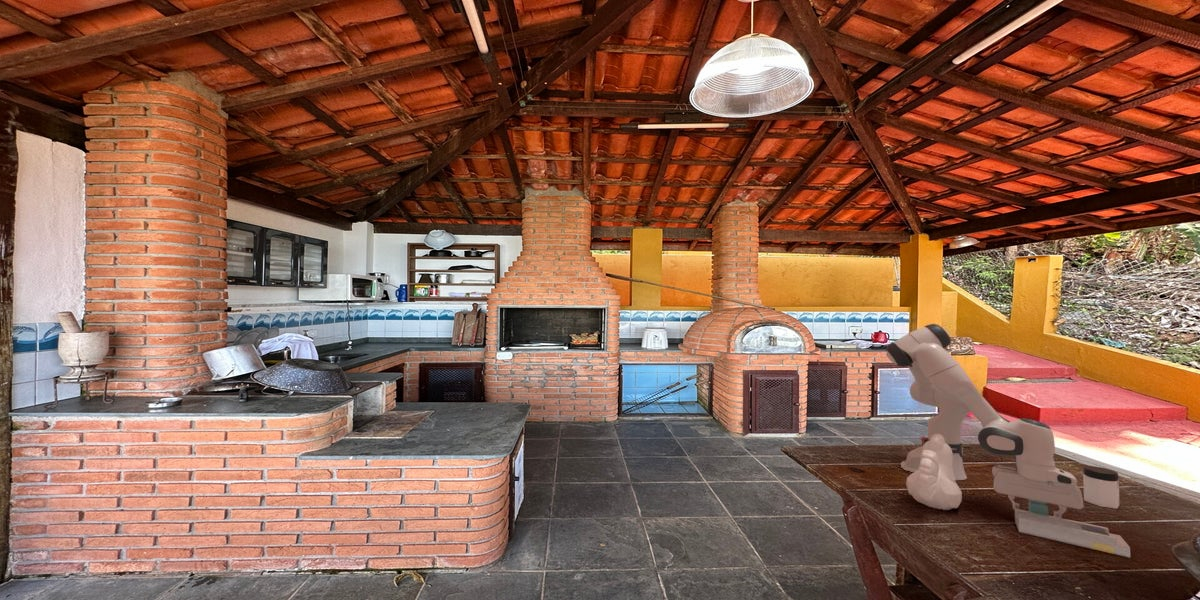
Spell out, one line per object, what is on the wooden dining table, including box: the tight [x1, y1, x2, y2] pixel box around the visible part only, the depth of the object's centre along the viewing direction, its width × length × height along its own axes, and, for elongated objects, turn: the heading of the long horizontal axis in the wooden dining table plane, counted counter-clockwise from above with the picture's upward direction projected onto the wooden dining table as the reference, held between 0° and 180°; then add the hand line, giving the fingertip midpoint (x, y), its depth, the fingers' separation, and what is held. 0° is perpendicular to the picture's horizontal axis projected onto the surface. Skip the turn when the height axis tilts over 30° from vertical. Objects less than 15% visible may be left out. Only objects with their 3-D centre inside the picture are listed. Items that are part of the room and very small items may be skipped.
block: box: [1027, 499, 1050, 516], centre depth 137 cm, size 4×4×6 cm
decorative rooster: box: [905, 434, 963, 511], centre depth 151 cm, size 25×16×25 cm, turn 119°
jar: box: [1082, 465, 1120, 510], centre depth 153 cm, size 9×8×12 cm
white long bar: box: [1014, 508, 1131, 559], centre depth 127 cm, size 22×8×6 cm, turn 52°
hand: (1036, 513), depth 137 cm, fingers open, 8 cm apart
